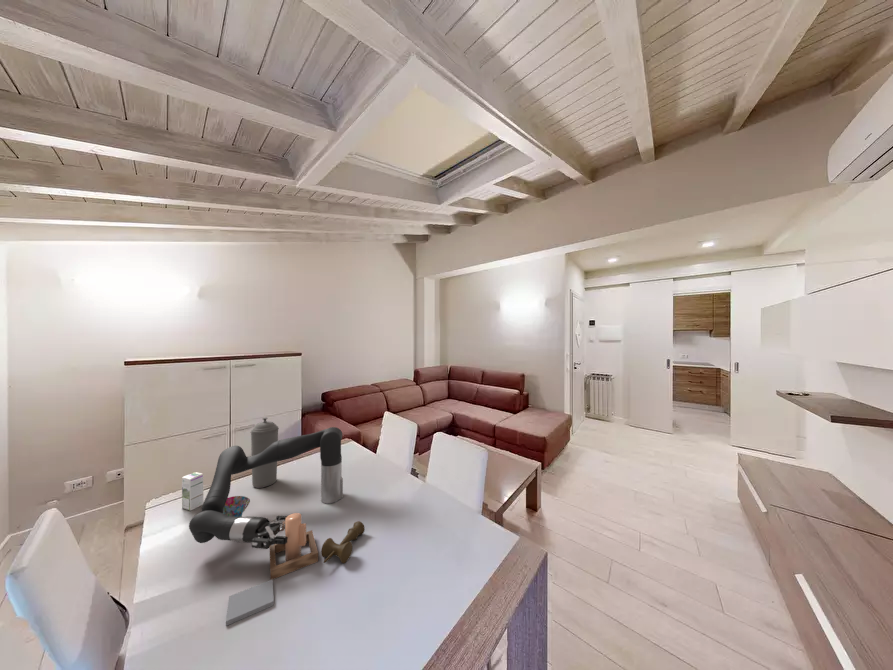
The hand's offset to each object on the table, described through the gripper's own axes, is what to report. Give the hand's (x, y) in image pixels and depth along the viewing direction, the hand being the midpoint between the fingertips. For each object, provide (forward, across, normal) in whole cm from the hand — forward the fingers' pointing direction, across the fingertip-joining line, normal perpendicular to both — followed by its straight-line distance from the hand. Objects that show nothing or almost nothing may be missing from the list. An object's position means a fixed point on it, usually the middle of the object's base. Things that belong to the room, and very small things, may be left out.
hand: (294, 532), depth 100 cm
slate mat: (-3, +16, -10) cm, 19 cm away
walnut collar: (0, -1, -9) cm, 9 cm away
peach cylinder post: (0, -1, -9) cm, 9 cm away
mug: (-34, -15, -10) cm, 39 cm away
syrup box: (-64, -29, -11) cm, 72 cm away
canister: (-46, -51, -10) cm, 69 cm away
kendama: (+16, -5, -9) cm, 19 cm away
